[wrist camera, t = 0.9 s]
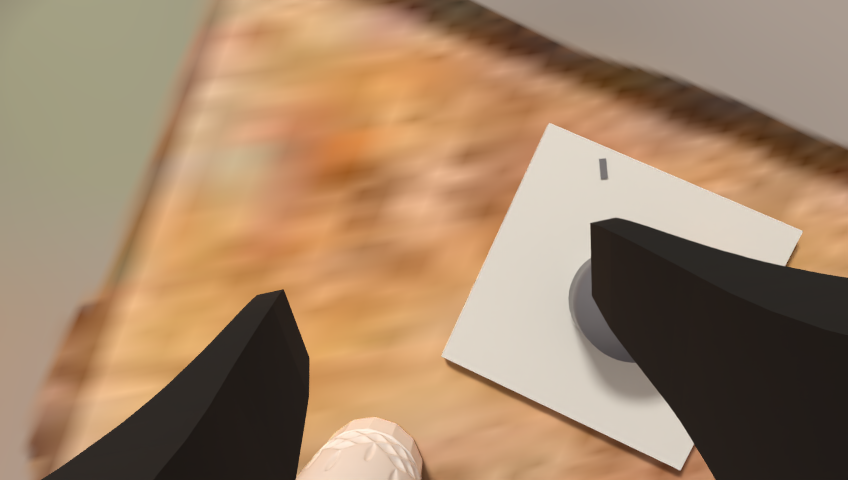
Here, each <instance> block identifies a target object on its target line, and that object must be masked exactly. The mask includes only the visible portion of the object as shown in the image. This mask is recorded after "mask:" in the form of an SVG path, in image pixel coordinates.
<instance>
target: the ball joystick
mask: <svg viewBox="0 0 848 480" xmlns="http://www.w3.org/2000/svg"><path fill="white" fill-rule="evenodd" d="M568 300H569V310H570V313H571V317H572V319H573V321H574V323H575V325H576V326H577V328H578V329H579V331H580V332H581V333H582V334H583V335H584V336H585V337H586V338H587V339H588V340H589V341H590V342H591V343H592V344H593V345H594V346H595V347H596V348H597V349H598V350H600V351H601V352H602V353H604V354H605V355H607V356H609V357H611V358H614V359H616V360H619V361H623V362H630V363H636V362H635V361H634V360H633V358H632V357H631V356H630V355H629V353H628V352H627V351H626V349H625V348H624V347H623V345H622V344H621V343H620V341H619V340H618V339H617V337H616V336H615V335H614V333H613V332H612V331H611V329H610V328H609V326H608V324H607V322H606V321H605V319H604V317H603V316H602V314H601V312H600V310H599V308H598V306H597V305H596V303H595V301H594V299H593V297H592V283H591V258H590V259H588V260H587V261H586V262H585V263H584V264H583V265H582V266H581V267H580V268H579V270H578V271H577V272H576V274H575V276H574V278H573V280H572V282H571V285H570V289H569V297H568Z"/></svg>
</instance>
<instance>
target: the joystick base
mask: <svg viewBox="0 0 848 480" xmlns="http://www.w3.org/2000/svg"><path fill="white" fill-rule="evenodd" d="M611 218H621V219H625V220H629V221H632V222H636V223H639V224H642V225H645V226H648V227H651V228H654V229H657V230H660V231H663V232H666V233H669V234H672V235H675V236H678V237H681V238H684V239H687V240H690V241H693V242H697V243H700V244H703V245H706V246H709V247H713V248H716V249H719V250H723V251H726V252H730V253H734V254H737V255H741V256H744V257H748V258H752V259H756V260H760V261H764V262H768V263H772V264H777V265H781V266H785V265H786V263H787V261H788V259H789V258H790V256H791V254H792V252H793V250H794V248H795V246H796V244H797V242H798V240H799V238H800V236H801V234H802V232H803V231H802V230H799V229H797V228H795V227H792V226H790V225H788V224H785V223H783V222H780V221H778V220H776V219H773V218H771V217H769V216H766V215H764V214H762V213H759V212H757V211H755V210H752V209H750V208H748V207H745V206H743V205H741V204H738V203H736V202H734V201H731V200H729V199H727V198H724V197H722V196H720V195H717V194H715V193H713V192H710V191H708V190H705V189H703V188H701V187H698V186H696V185H694V184H691V183H689V182H687V181H684V180H682V179H680V178H677V177H675V176H673V175H670V174H668V173H666V172H663V171H661V170H659V169H656V168H654V167H652V166H649V165H647V164H645V163H642V162H640V161H638V160H635V159H633V158H630V157H628V156H626V155H623V154H621V153H619V152H616V151H614V150H612V149H609V148H607V147H605V146H602V145H600V144H598V143H595V142H593V141H591V140H588V139H586V138H584V137H581V136H579V135H577V134H574V133H572V132H570V131H567V130H565V129H563V128H560V127H558V126H555V125H553V124H551V123H549V124H548V125H547V127H546V129H545V131H544V133H543V136H542V138H541V140H540V142H539V144H538V146H537V149H536V151H535V153H534V155H533V157H532V159H531V162H530V164H529V166H528V168H527V170H526V172H525V174H524V177H523V179H522V181H521V183H520V185H519V187H518V190H517V192H516V194H515V196H514V198H513V200H512V203H511V205H510V207H509V209H508V211H507V213H506V216H505V218H504V220H503V222H502V224H501V226H500V229H499V231H498V233H497V235H496V237H495V239H494V242H493V244H492V246H491V248H490V250H489V252H488V255H487V257H486V259H485V261H484V263H483V265H482V268H481V270H480V272H479V274H478V276H477V278H476V281H475V283H474V285H473V287H472V289H471V291H470V293H469V296H468V298H467V300H466V302H465V304H464V306H463V309H462V311H461V313H460V315H459V317H458V319H457V322H456V324H455V326H454V328H453V330H452V332H451V335H450V337H449V339H448V341H447V343H446V345H445V348H444V350H443V352H442V356H441V357H444V358H446V359H448V360H450V361H452V362H454V363H456V364H458V365H460V366H462V367H464V368H467V369H469V370H471V371H473V372H475V373H477V374H479V375H481V376H483V377H485V378H488V379H490V380H492V381H494V382H496V383H498V384H500V385H502V386H504V387H506V388H508V389H511V390H513V391H515V392H517V393H519V394H521V395H523V396H525V397H527V398H529V399H532V400H534V401H536V402H538V403H540V404H542V405H544V406H546V407H548V408H550V409H552V410H555V411H557V412H559V413H561V414H563V415H565V416H567V417H569V418H571V419H573V420H576V421H578V422H580V423H582V424H584V425H586V426H588V427H590V428H592V429H594V430H596V431H599V432H601V433H603V434H605V435H607V436H609V437H611V438H613V439H615V440H617V441H620V442H622V443H624V444H626V445H628V446H630V447H632V448H634V449H636V450H638V451H640V452H643V453H645V454H647V455H649V456H651V457H653V458H655V459H657V460H659V461H661V462H664V463H666V464H668V465H670V466H672V467H674V468H676V469H678V470H681V468H682V466H683V464H684V462H685V461H686V459H687V457H688V455H689V453H690V451H691V449H692V447H693V445H694V443H693V441H692V440H691V438H690V436H689V435H688V433H687V431H686V430H685V428H684V427H683V425H682V423H681V422H680V420H679V419H678V418H677V416H676V415H675V413H674V412H673V411H672V409H671V408H670V406H669V405H668V404H667V402H666V401H665V400H664V398H663V397H662V396H661V395H660V393H659V392H658V391H657V389H656V388H655V387H654V386H653V384H652V383H651V382H650V380H649V379H648V378H647V376H646V375H645V374H644V373H643V371H642V370H641V369H640V367H639V366H638V365H637V364H636V363H630V362H623V361H619V360H616V359H614V358H611V357H609V356H607V355H605V354H604V353H602V352H601V351H600V350H598V349H597V348H596V347H595V346H594V345H593V344H592V343H591V342H590V341H589V340H588V339H587V338H586V337H585V336H584V335H583V334H582V333H581V332H580V331H579V329H578V328H577V326H576V325H575V323H574V321H573V319H572V317H571V313H570V310H569V300H568V297H569V289H570V285H571V282H572V280H573V278H574V276H575V274H576V272H577V271H578V270H579V268H580V267H581V266H582V265H583V264H584V263H585V262H586V261H587V260H588V259H590V258H591V236H590V223H592V222H597V221H602V220H606V219H611Z"/></svg>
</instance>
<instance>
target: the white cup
mask: <svg viewBox="0 0 848 480" xmlns="http://www.w3.org/2000/svg"><path fill="white" fill-rule="evenodd" d="M296 480H422V458H421V456H420V453H419V451H418V448H417V446H416V444H415V441H414V439H413V438H412V437H411V436H410V435H409V434H407V433H406V432H405V431H404V430H403V429H402V428H401V427H400V426H399V425H398V424H396V423H393V422H390V421H387V420H384V419H381V418H377V417H369V418H362V419H355V420H352V421H351V422H349V423H348V424H346V425H345V426H343V427H342V428H341V429H339V430H338V431H336V432H335V433H334V434H333V436H332V437H331V438H330V439H329V441H328V442H327V443H326V444H325V445H324V446H323V447H322V448H321V449H320V450H319V451H318V452H317V453H316V454H315V456H314V457H313V458H312V459H311V460H310V462H309V463H308V464H307V465H306V466H305V467H304V468H303V470H302V471H301V472H300V473H299V474H298V476H297V477H296Z"/></svg>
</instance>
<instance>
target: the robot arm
mask: <svg viewBox="0 0 848 480" xmlns="http://www.w3.org/2000/svg"><path fill="white" fill-rule="evenodd" d="M590 236H591V283H592V297H593V299H594V301H595V303H596V305H597V306H598V308H599V310H600V312H601V314H602V316H603V317H604V319H605V321H606V322H607V324H608V326H609V328H610V329H611V331H612V332H613V333H614V335H615V336H616V337H617V339H618V340H619V341H620V343H621V344H622V345H623V347H624V348H625V349H626V351H627V352H628V353H629V355H630V356H631V357H632V358H633V360H634V361H635V362H636V364H637V365H638V366H639V367H640V369H641V370H642V371H643V373H644V374H645V375H646V376H647V378H648V379H649V380H650V382H651V383H652V384H653V386H654V387H655V388H656V389H657V391H658V392H659V393H660V395H661V396H662V397H663V398H664V400H665V401H666V402H667V404H668V405H669V406H670V408H671V409H672V411H673V412H674V413H675V415H676V416H677V418H678V419H679V420H680V422H681V423H682V425H683V427H684V428H685V430H686V431H687V433H688V435H689V436H690V438H691V440H692V441H693V443H694V444H695V446H696V448H697V449H698V451H699V452H700V454H701V456H702V457H703V459H704V461H705V462H706V464H707V466H708V467H709V469H710V471H711V472H712V474H713V476H714V478H715V479H716V480H848V278H846V277H839V276H833V275H827V274H821V273H815V272H810V271H805V270H801V269H796V268H791V267H786V266H781V265H777V264H772V263H768V262H764V261H760V260H756V259H752V258H748V257H744V256H741V255H737V254H734V253H730V252H726V251H723V250H719V249H716V248H713V247H709V246H706V245H703V244H700V243H697V242H693V241H690V240H687V239H684V238H681V237H678V236H675V235H672V234H669V233H666V232H663V231H660V230H657V229H654V228H651V227H648V226H645V225H642V224H639V223H636V222H632V221H629V220H625V219H621V218H611V219H606V220H602V221H597V222H592V223H590ZM308 398H309V356H308V353H307V350H306V348H305V345H304V342H303V340H302V337H301V334H300V332H299V329H298V326H297V324H296V321H295V318H294V316H293V313H292V310H291V308H290V305H289V302H288V300H287V297H286V295H285V292H284V289H283V290H279V291H274V292H269V293H265V294H260V295H257V296H256V297H255V298H253V299H252V300H251V301H250V302H249V303H248V304H247V305H246V306H245V307H244V308H243V309H242V310H241V311H240V312H239V313H238V315H237V316H236V317H235V318H234V319H233V320H232V321H231V322H230V323H229V324H228V325H227V326H226V327H225V328H224V329H223V330H222V331H221V332H220V334H219V335H218V336H217V337H216V338H215V339H214V340H213V341H212V342H211V343H210V344H209V345H208V346H207V347H206V348H205V349H204V350H203V351H202V352H201V353H200V354H199V355H198V356H197V357H196V358H195V359H194V360H193V361H192V362H191V363H190V364H189V365H188V366H187V367H186V368H185V369H184V370H183V371H181V372H180V373H179V374H178V375H177V376H176V377H175V378H174V379H173V380H172V381H171V382H170V383H169V384H168V385H167V386H166V387H165V388H163V389H162V390H161V391H160V392H159V393H158V394H157V395H155V396H154V397H153V398H152V399H151V400H150V401H148V402H147V403H146V404H145V405H144V406H142V407H141V408H140V409H139V410H137V411H136V412H135V413H134V414H133V415H131V416H130V417H129V418H128V419H126V420H125V421H124V422H123V423H121V424H120V425H119V426H117V427H116V428H115V429H113V430H112V431H111V432H109V433H108V434H106V435H105V436H104V437H102V438H101V439H100V440H98V441H97V442H95V443H94V444H93V445H91V446H90V447H88V448H87V449H86V450H84V451H83V452H81V453H80V454H79V455H77V456H76V457H75V458H73V459H72V460H70V461H69V462H68V463H66V464H65V465H63V466H62V467H60V468H59V469H57V470H56V471H54V472H53V473H51V474H49V475H48V476H46V477H45V478H43V479H42V480H296V474H297V468H298V462H299V456H300V449H301V443H302V437H303V431H304V425H305V418H306V412H307V405H308Z"/></svg>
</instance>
